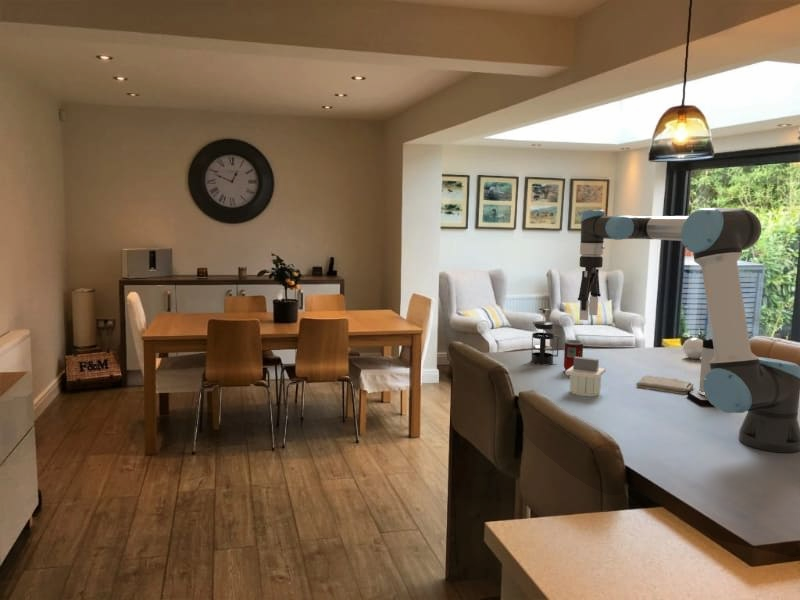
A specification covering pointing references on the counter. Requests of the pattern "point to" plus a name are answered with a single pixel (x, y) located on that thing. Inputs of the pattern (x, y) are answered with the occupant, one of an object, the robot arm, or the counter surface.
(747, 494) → the counter surface
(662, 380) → the washcloth
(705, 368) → the travel mug
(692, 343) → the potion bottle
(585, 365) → the cover
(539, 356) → the french press
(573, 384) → the cream round tub
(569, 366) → the soda can
